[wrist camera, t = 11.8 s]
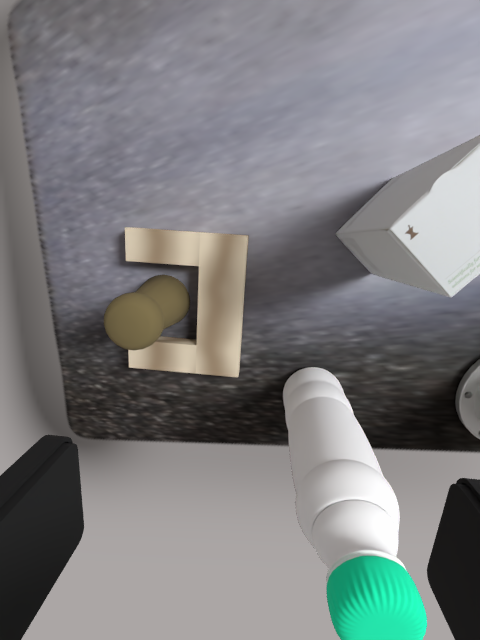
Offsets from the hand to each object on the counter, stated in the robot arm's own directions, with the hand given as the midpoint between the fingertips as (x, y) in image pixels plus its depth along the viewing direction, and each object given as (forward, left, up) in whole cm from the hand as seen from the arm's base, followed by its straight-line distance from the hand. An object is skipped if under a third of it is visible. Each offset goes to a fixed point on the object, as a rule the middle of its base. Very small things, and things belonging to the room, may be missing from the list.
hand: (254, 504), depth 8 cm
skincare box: (-12, -8, -30) cm, 34 cm away
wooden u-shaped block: (+8, +2, -30) cm, 31 cm away
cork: (+11, +2, -30) cm, 32 cm away
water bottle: (-7, +12, -30) cm, 33 cm away
